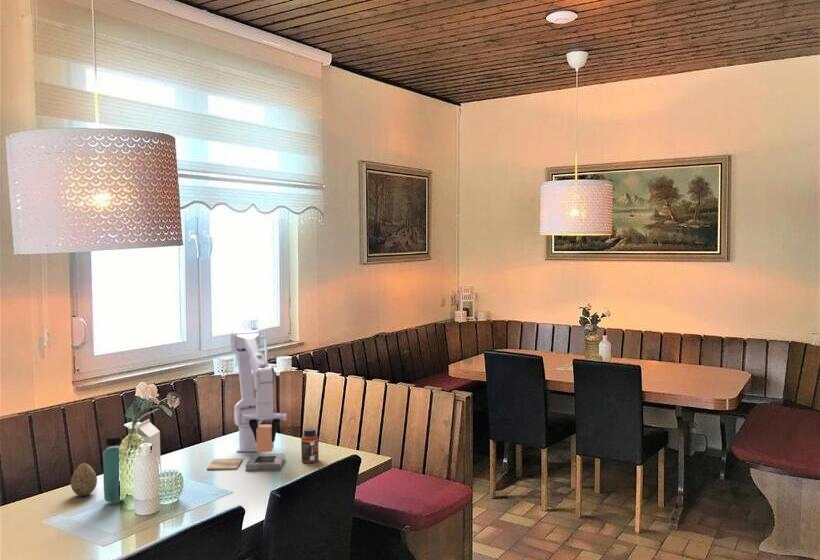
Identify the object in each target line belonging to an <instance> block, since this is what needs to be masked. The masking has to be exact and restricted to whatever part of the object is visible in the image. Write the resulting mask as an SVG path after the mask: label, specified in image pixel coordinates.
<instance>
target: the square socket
mask: <svg viewBox="0 0 820 560" xmlns="http://www.w3.org/2000/svg"><path fill="white" fill-rule="evenodd" d="M285 455H286V454H285V453H264V454H263V453H259V454H257V453H255V454H251V455H250V456H249V458H248V460H247V462H246V464H245V472H257V471H258V472H259V471H262V472H263V471H281V469H282V467H283V464H284V462H285V460H284V459H285Z"/></svg>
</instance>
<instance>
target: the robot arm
mask: <svg viewBox="0 0 820 560" xmlns="http://www.w3.org/2000/svg"><path fill="white" fill-rule="evenodd" d="M260 343H261V334H260V331H259V330H258V329H254V330H241V331H239V330H238V331H232V333H231V334H230V345H231V346H230V349H231V353H232V355H235V356H236V359H237V366H238V378H239V380H238V381H239V391H240V400H239V401H237V402H236V404H234V407H233V420H234V424H235V426H237V427H238V439H239V440H238V441H239V442H238V443H239V445H238V447H237V450H236V453H241V452H242V453H243V452H244V453H245V452H257V437H256V428H257V427H258V425H261V423H263V421H271V422H270V423H271V424H272V442H274V443H275V440H276V435H277V431H278V428H279V425H280V423H281V421H286V420H287V413H281V412H274V395H273V394H274V393H273V392H274V389H273V388H274V387H273V384H274V383H275V380H276V374H275V373H276V372H275V369H274V367H273V365H270V364H269V363H268V362H267V361H268V360H267V359H266V356H265V355H264V354H263V353H261V352H260V348H259V346H260ZM254 390H255V393H254ZM254 394H255V396H254ZM271 424H270V425H271Z"/></svg>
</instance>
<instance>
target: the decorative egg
mask: <svg viewBox="0 0 820 560" xmlns="http://www.w3.org/2000/svg"><path fill="white" fill-rule="evenodd" d="M97 478H98V477H97V473H96V471H95V469H93V468H92V467H91V465H90V464H88V463H85V462H82V463H80V464H79V465H78V466H77V467H76V469H75V470H74V471H73V474H72V475H71V480H70V487H71V490H72V491H73V493H74V494H75V495H77V496H80V497H85V496H88V495H90V494H92V493H93V492H94V491H95V489H96V487H97V484H98V479H97Z"/></svg>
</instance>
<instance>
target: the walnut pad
mask: <svg viewBox="0 0 820 560" xmlns="http://www.w3.org/2000/svg"><path fill="white" fill-rule="evenodd" d="M243 460H244V459H243V458H214V459H213V460H212V461H211V462H210V464H209V465H208V466H207V468H206V471H224V470H225V471H228V470H229V471H232V470H235V469H237V468H238V469H239V467H240V466H241V464H242V462H243ZM238 469H237V470H238Z"/></svg>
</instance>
